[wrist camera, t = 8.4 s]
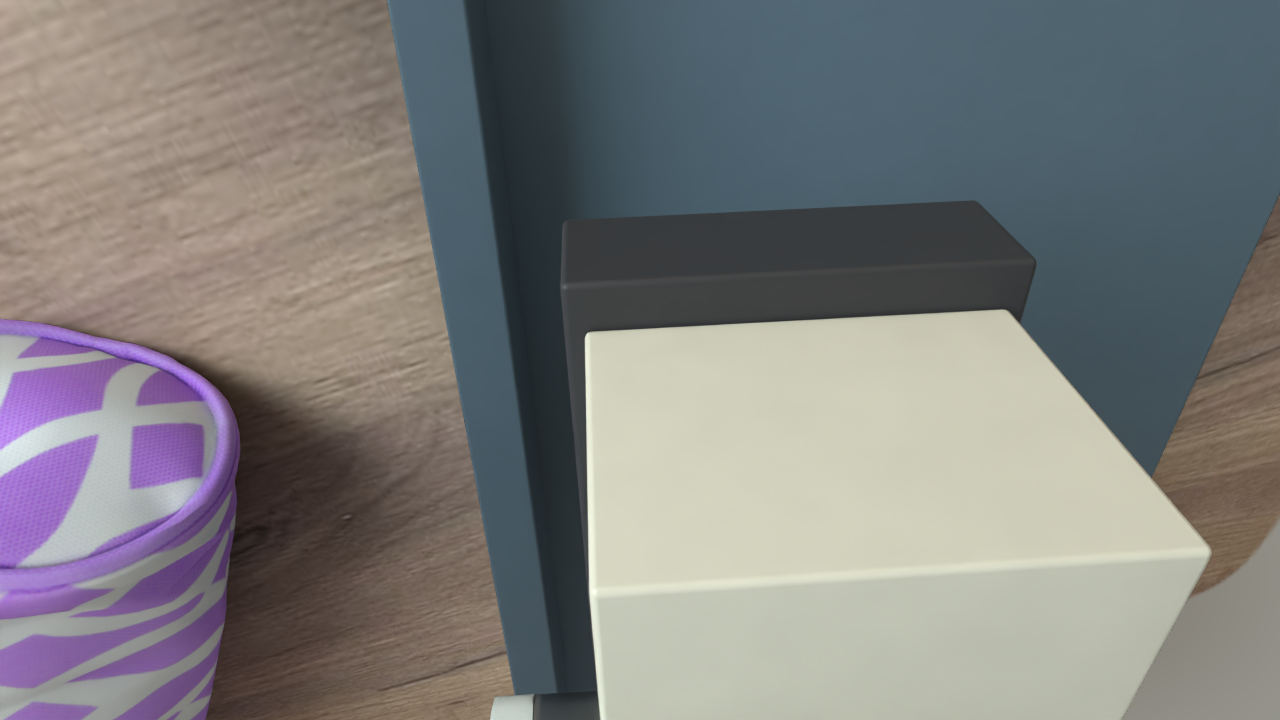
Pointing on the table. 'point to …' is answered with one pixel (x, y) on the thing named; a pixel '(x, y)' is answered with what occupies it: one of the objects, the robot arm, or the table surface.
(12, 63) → the table surface
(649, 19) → the grey lipped base tray
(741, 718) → the cream and orange block
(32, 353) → the pencil case
